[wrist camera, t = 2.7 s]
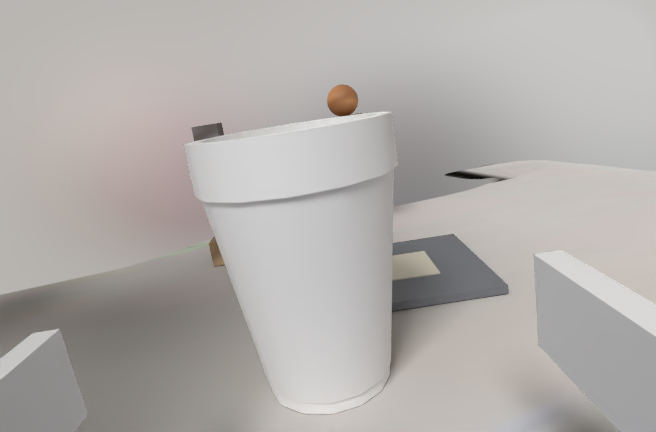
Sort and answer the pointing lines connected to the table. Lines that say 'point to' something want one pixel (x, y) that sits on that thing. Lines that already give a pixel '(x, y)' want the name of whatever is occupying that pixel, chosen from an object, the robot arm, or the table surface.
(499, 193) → the table surface
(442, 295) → the mat
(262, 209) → the foam cup
